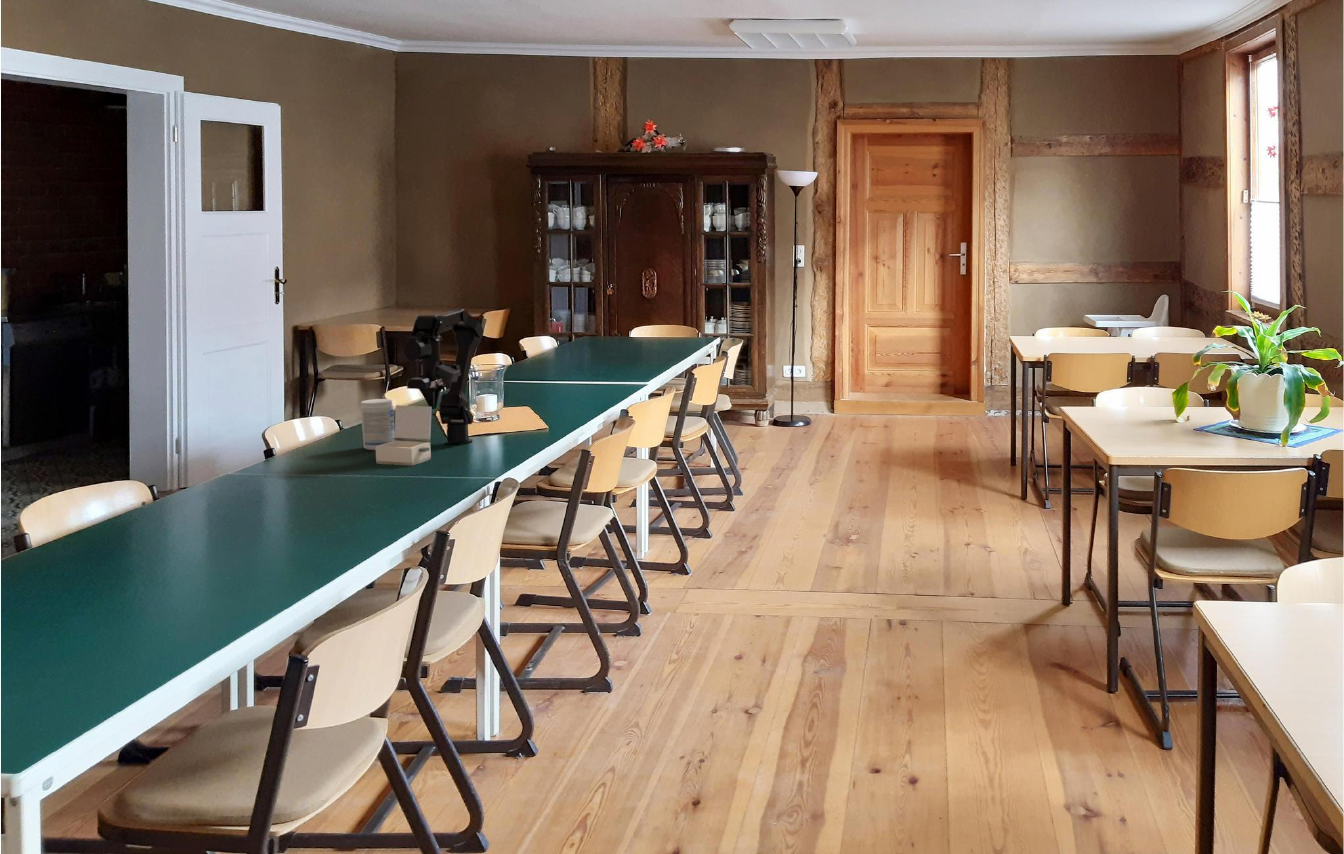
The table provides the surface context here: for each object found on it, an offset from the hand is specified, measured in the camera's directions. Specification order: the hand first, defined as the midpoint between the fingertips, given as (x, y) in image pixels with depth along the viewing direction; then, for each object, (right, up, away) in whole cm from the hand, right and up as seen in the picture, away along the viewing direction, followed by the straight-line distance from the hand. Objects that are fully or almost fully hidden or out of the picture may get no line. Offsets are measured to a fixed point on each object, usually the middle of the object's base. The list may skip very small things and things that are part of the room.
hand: (433, 408), depth 374 cm
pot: (-6, -15, -12) cm, 21 cm away
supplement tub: (-18, -12, +10) cm, 24 cm away
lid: (-4, -4, -9) cm, 11 cm away
